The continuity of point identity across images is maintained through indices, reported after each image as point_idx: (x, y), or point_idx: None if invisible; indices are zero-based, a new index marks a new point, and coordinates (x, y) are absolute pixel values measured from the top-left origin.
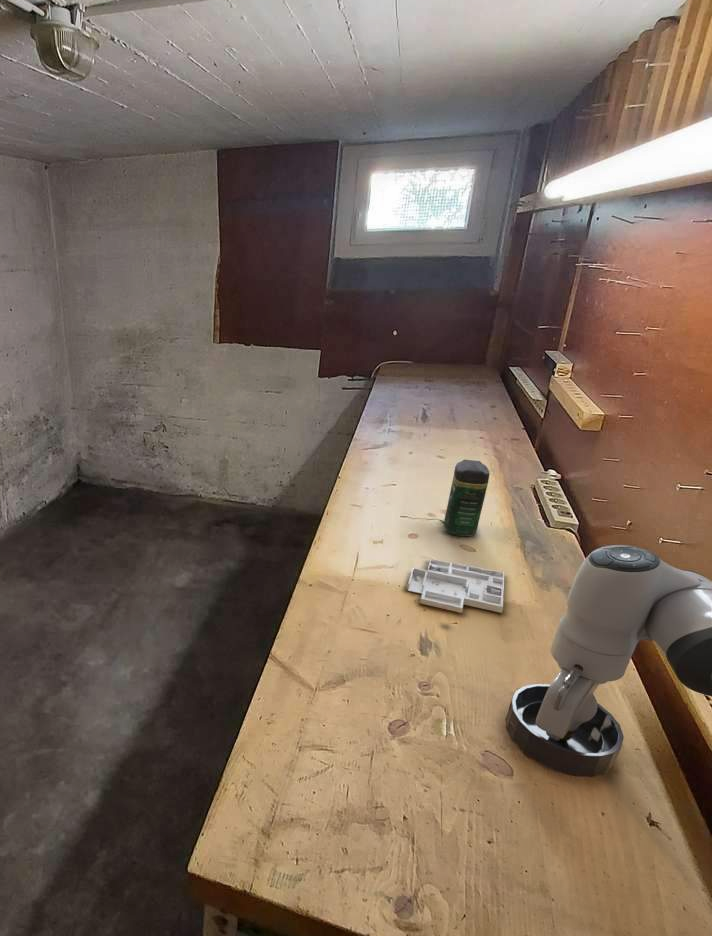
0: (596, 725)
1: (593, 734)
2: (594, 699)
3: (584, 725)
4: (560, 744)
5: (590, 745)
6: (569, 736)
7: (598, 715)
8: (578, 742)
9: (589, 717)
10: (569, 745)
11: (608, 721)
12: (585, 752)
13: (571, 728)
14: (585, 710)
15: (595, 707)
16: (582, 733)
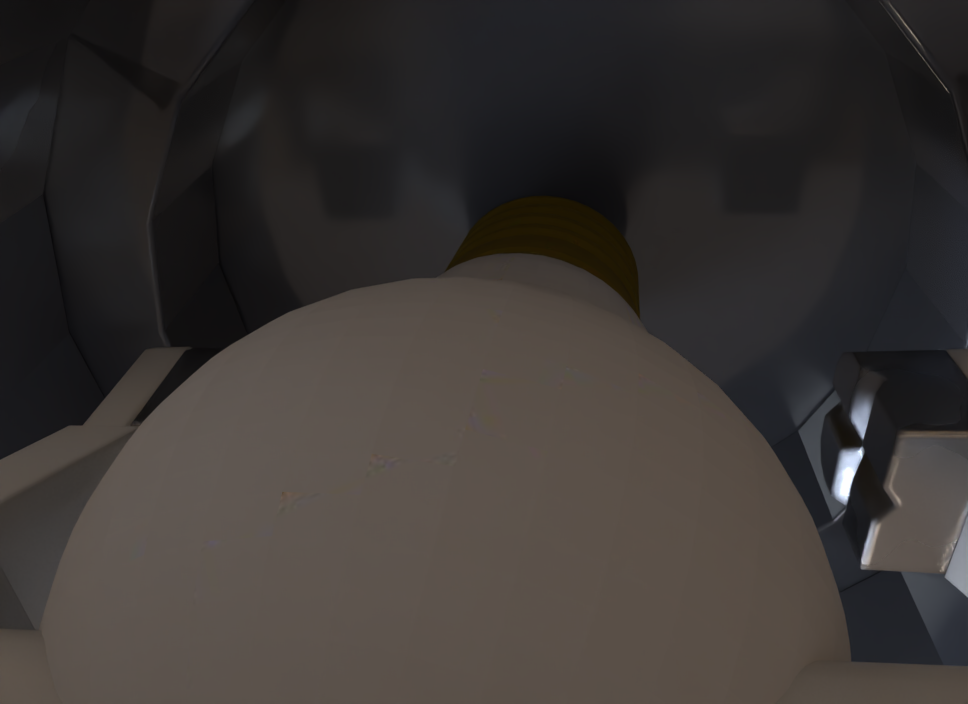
0: (165, 86)
1: (247, 45)
2: (300, 699)
3: (201, 160)
4: (619, 218)
5: (393, 4)
6: (585, 231)
7: (17, 141)
8: (451, 108)
9: (646, 370)
10: (572, 156)
11: (26, 7)
12: (547, 4)
13: (634, 313)
14: (760, 606)
15: (439, 495)
16: (292, 126)
